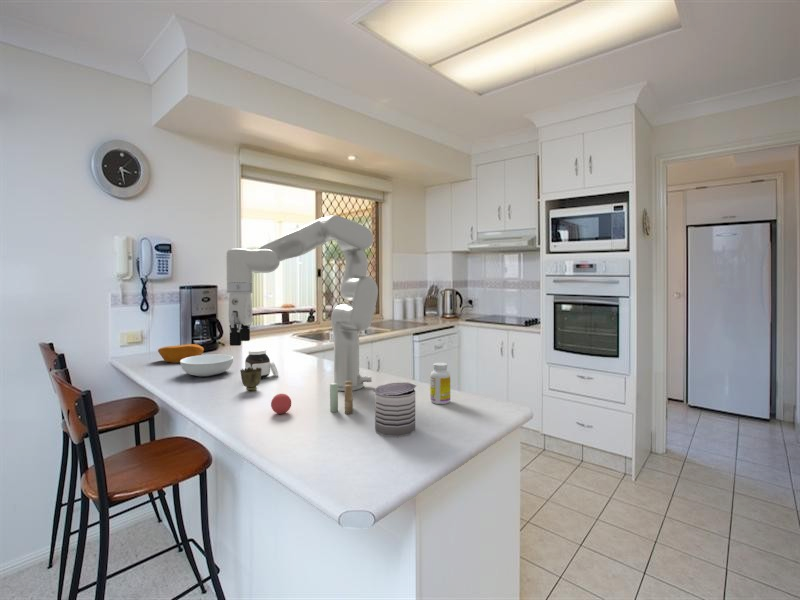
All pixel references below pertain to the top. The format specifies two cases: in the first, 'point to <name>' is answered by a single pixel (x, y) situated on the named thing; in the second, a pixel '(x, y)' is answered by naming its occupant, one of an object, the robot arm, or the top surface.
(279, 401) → the ball
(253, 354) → the spread jar
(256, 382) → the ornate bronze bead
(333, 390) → the front pin
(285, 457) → the top surface
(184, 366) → the serving bowl
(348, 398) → the pin
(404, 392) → the can
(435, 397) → the supplement bottle
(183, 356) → the bread
